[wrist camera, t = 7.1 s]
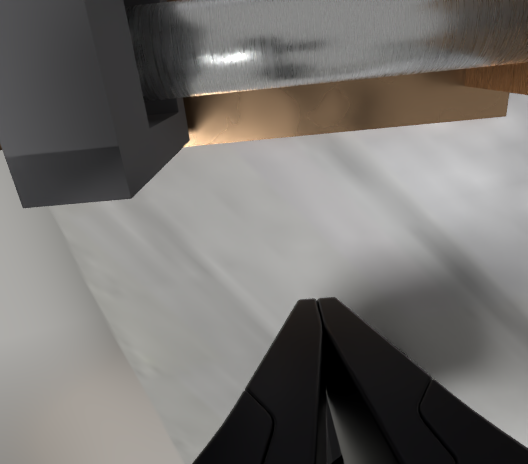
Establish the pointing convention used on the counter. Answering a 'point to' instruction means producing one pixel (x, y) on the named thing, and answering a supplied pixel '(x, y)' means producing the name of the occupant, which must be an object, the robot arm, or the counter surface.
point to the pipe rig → (328, 63)
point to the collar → (79, 104)
